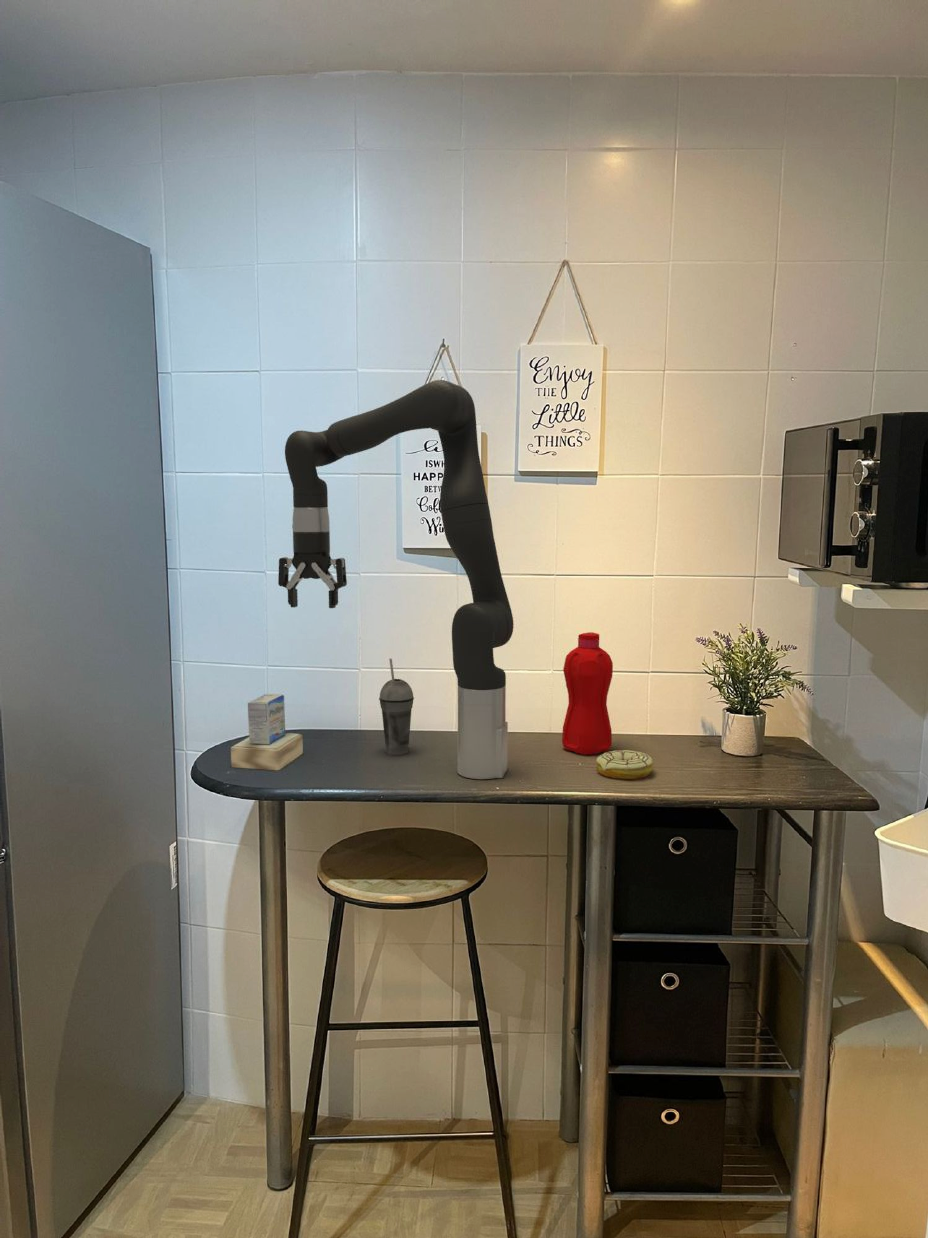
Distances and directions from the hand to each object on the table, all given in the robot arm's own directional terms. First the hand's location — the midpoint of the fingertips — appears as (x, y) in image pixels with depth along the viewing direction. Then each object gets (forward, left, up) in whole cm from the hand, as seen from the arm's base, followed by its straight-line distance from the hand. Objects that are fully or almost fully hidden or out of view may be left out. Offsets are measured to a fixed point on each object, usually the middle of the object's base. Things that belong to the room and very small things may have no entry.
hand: (313, 607), depth 183 cm
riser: (+6, +11, -30) cm, 33 cm away
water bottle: (-56, -11, -30) cm, 65 cm away
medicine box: (+6, +11, -26) cm, 29 cm away
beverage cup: (-18, 0, -30) cm, 35 cm away
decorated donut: (-65, +4, -30) cm, 72 cm away
